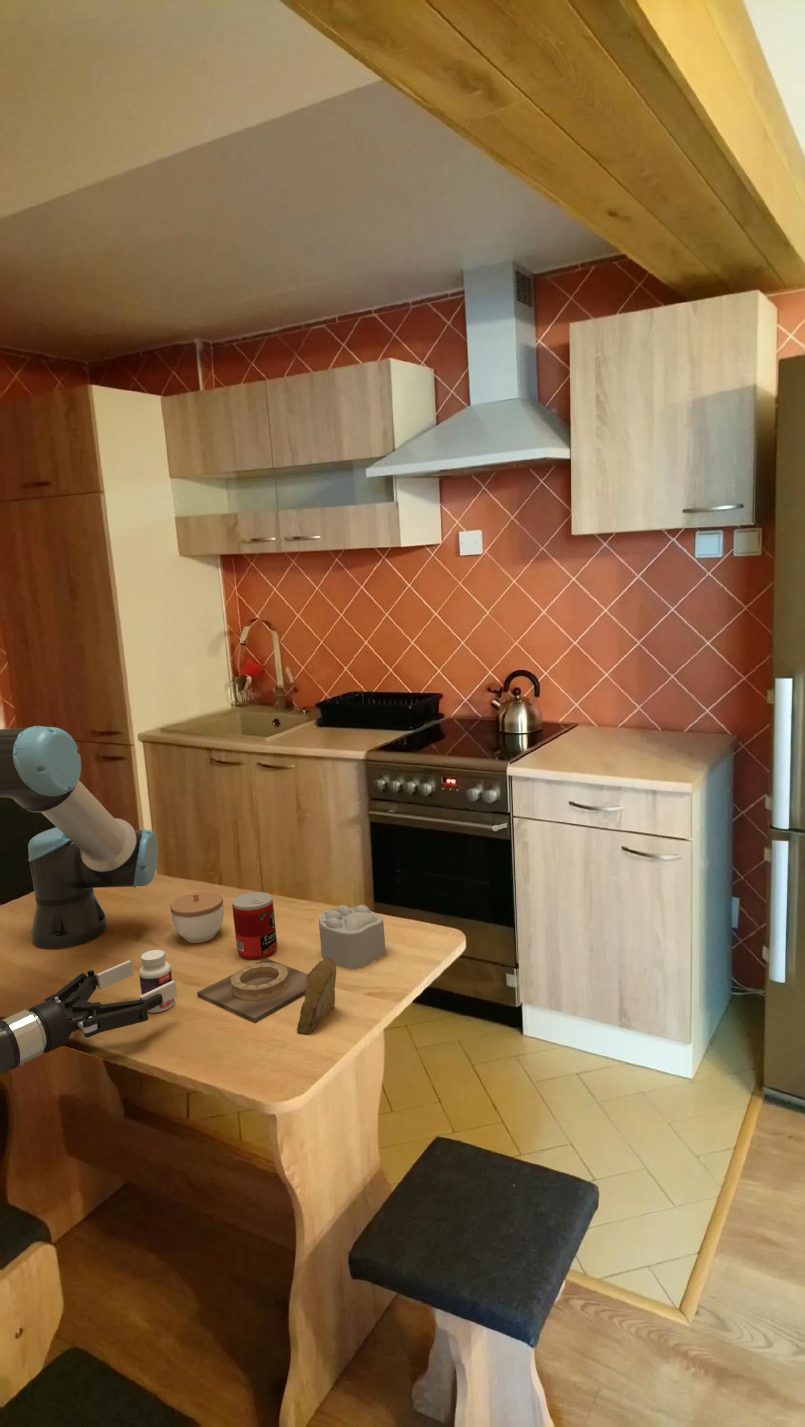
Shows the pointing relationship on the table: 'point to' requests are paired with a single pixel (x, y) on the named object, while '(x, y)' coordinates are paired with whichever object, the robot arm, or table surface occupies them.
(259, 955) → the canned food
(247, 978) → the ring plate
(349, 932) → the lumpy-topped squat cylinder
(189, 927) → the lidded jar
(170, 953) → the table surface
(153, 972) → the pill bottle
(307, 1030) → the rock
